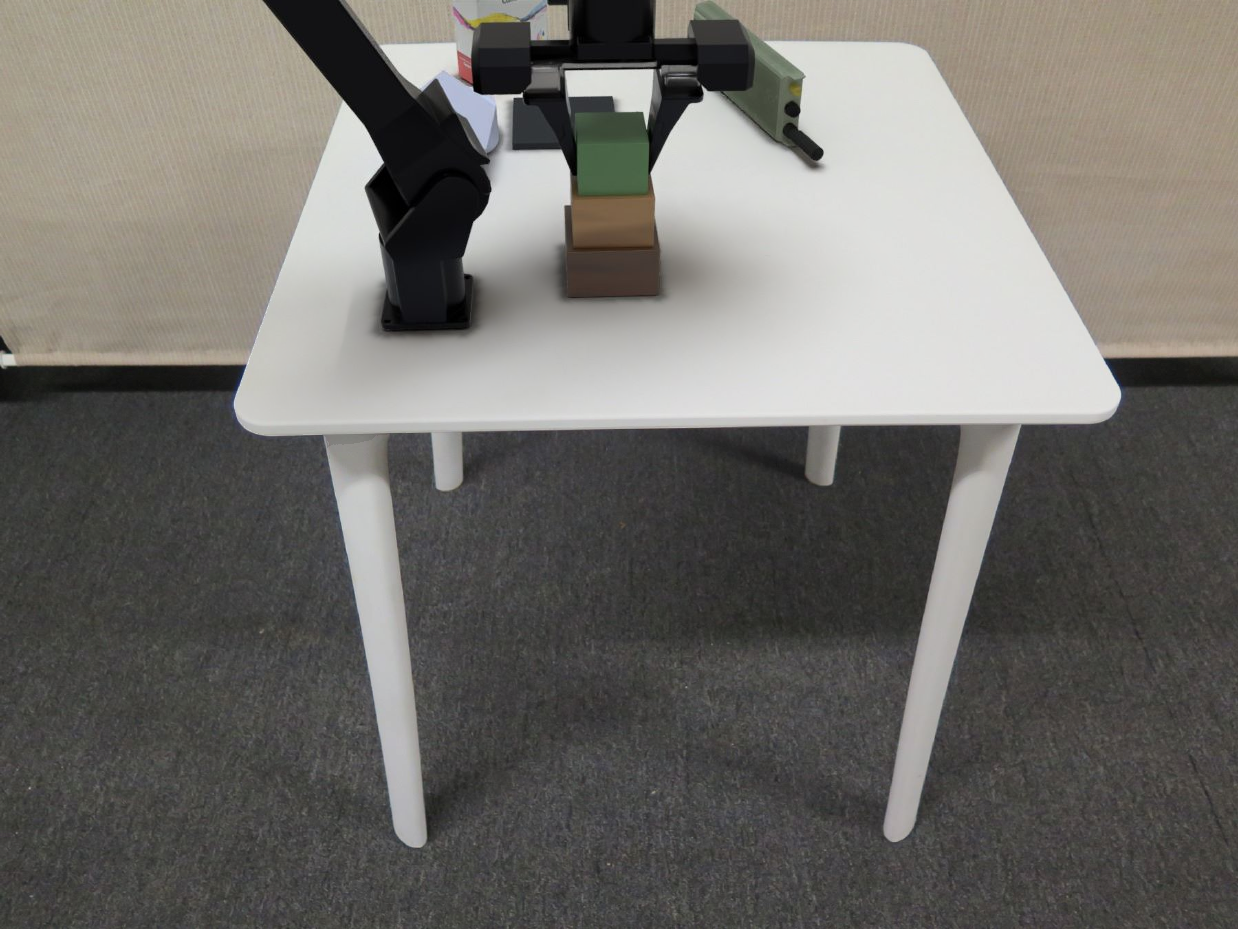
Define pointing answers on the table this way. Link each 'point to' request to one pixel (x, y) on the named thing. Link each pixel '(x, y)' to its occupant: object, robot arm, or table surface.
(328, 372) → the table surface
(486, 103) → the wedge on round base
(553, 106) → the robot arm
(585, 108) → the mat
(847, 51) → the table surface
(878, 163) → the table surface
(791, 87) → the handheld radio
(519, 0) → the ink cartridge box
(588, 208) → the oak block
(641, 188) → the green block
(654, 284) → the walnut block
